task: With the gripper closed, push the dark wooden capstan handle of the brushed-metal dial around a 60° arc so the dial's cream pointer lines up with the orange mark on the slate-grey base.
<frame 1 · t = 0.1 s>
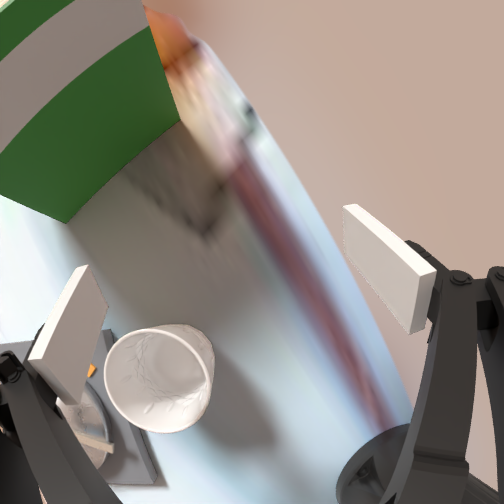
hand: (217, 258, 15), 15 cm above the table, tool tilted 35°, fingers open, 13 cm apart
hardback book: (105, 150, 32), on the table
dial base: (67, 411, 27), on the table
capstan dial: (38, 431, 21), point 7 cm above the table, hinge at 0.0°
white cup: (181, 356, 29), on the table
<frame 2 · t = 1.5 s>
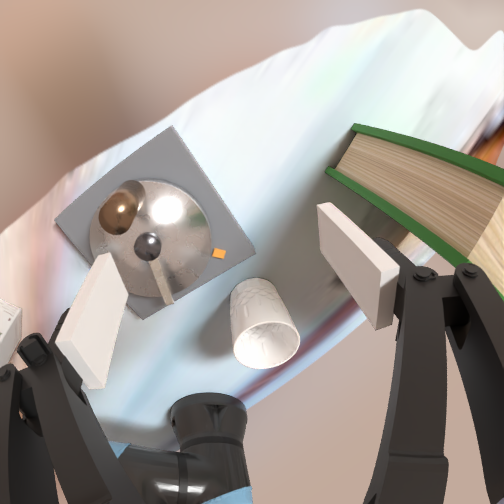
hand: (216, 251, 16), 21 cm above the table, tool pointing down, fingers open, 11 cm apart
hardback book: (386, 181, 39), on the table
dial base: (153, 229, 36), on the table
capstan dial: (145, 257, 31), point 7 cm above the table, hinge at 0.0°
white cup: (253, 296, 44), on the table
supplement box: (5, 313, 38), on the table
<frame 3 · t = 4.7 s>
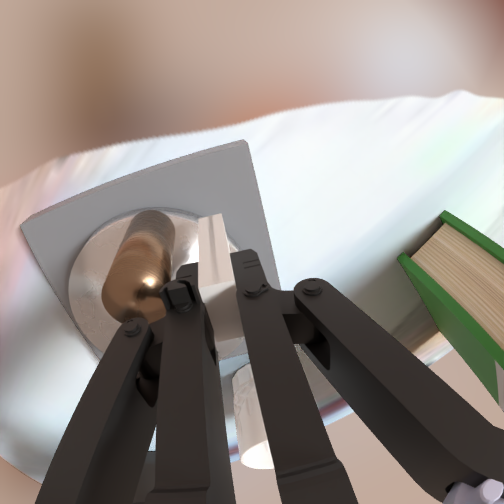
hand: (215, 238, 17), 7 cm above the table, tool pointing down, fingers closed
hardback book: (443, 279, 32), on the table
dial base: (163, 278, 25), on the table
capstan dial: (158, 336, 19), point 7 cm above the table, hinge at 3.6°, touching gripper
white cup: (260, 377, 33), on the table
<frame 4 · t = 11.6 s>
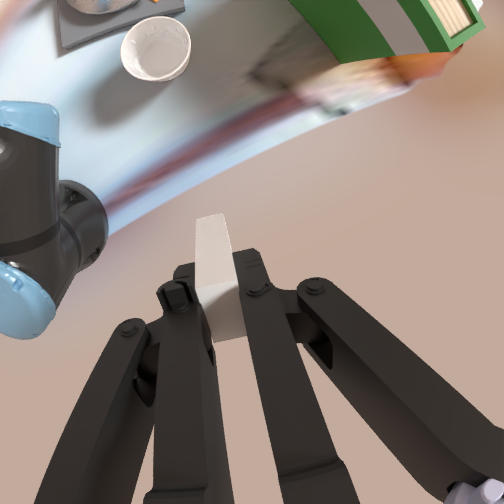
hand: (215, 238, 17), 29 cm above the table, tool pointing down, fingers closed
hardback book: (322, 9, 34), on the table
white cup: (165, 59, 35), on the table
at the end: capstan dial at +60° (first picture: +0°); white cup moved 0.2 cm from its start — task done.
